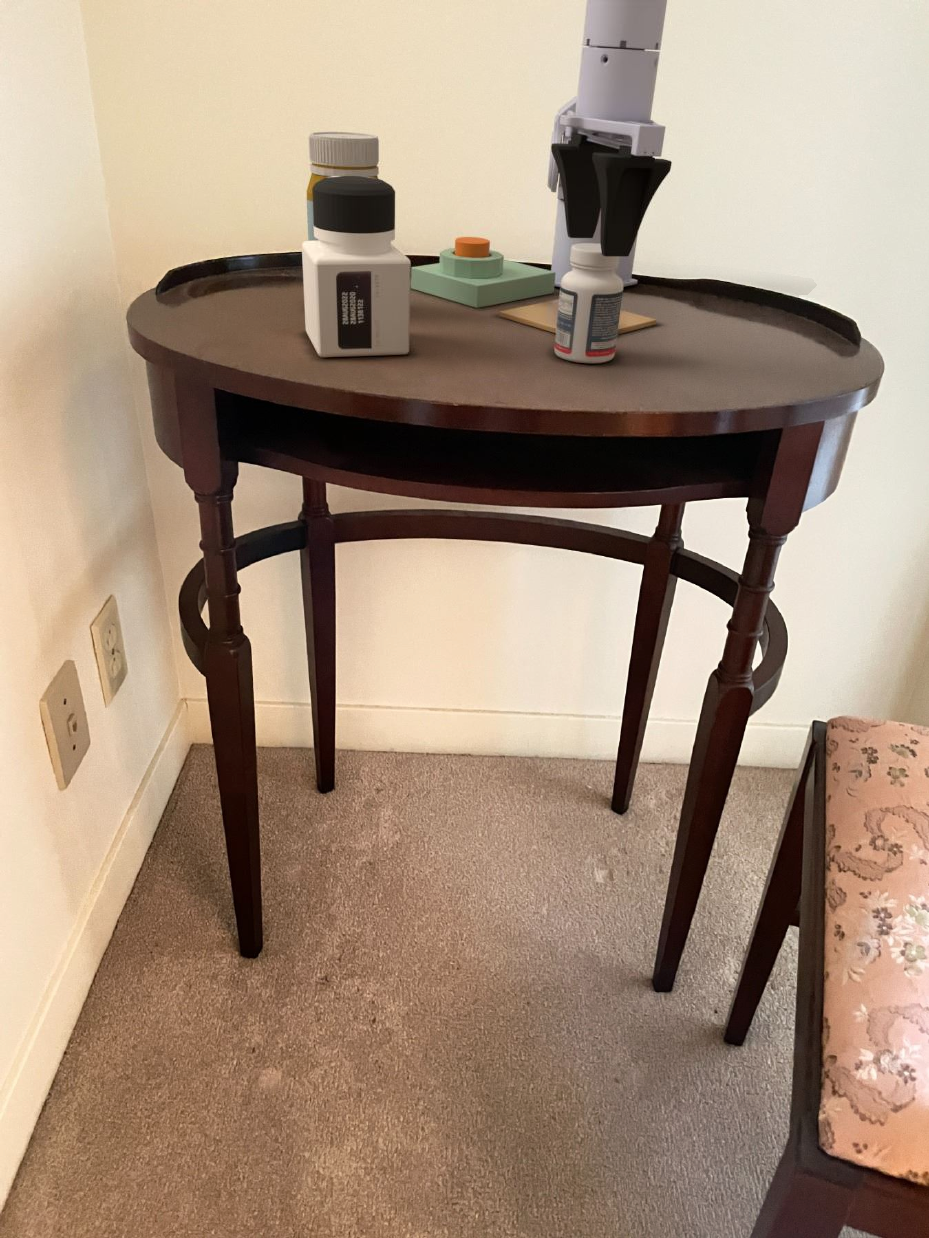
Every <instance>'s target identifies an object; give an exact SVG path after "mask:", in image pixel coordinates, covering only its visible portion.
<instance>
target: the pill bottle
mask: <svg viewBox="0 0 929 1238" xmlns="http://www.w3.org/2000/svg"><path fill="white" fill-rule="evenodd" d="M570 261H571V262H570V264H571V265H572V266H573V269H572V271H570V272H568V273H566V274H565V275H564V276H563V278H562V280H561V285H560V287H559V294H558V295H559V297H558V299H559V305H558V315H557V326H556V333H555V335H554V336H555V338H554V349H553V351H554V354H555V355H556V356H557V357H558V358H560V359H562V360H564V361H569V362H572V363H579V364H580V363H581V364H602V363H606V362H609V361H611V360H613V359H614V357H615V354H616V350H617V349H616V348H617V339H618V334H617V333H618V325H619V318H620V310H622V301H623V294H624V287H623V281H622V279H621V278H620V277H619V276H617V275H616V274H615V269H616V268H618V264H619V257H607V256H603V255H602V252H601V244H596V243H580V244H575V245H572V248H571V256H570Z"/></svg>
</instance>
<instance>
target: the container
mask: <svg viewBox="0 0 929 1238" xmlns="http://www.w3.org/2000/svg"><path fill="white" fill-rule="evenodd" d="M312 195H313V221H314V237H315V238H317V239H318V240H319V241H308V240H305V241H303V242H302V243H301V257H302V261H301V262H302V280H303V281H302V282H303V301H304V322H305V324H304V325H305V326H304V327H305V332H306V334H307V336H308V338H309V340H310V341H311V344H312V346H313V347H314V349H315V351H316V353H317V355H318V356H319V357H320V358H340V357H341V358H342V357H345V358H346V357H369V356H370V357H373V356H400V355H401V356H403V355H407V354H408V353H409V351H410V333H411V331H410V328H411V327H410V326H411V321H410V320H411V268H412V267H411V265H412V264H411V260H410V259H409V257H408V256H406V255H405V253H403V252H402V251H401V250H400V249H398V248H397V247H396V246H395V245H394V244H392V242H394V240H395V239H396V190H395V189H394V187H393V185H391V184H389V183H387V182H386V181H385V180H383V179H381V178H378V179H376V178H370V177H361V176H333V177H326V178H324V179H322V180H320V181H318V182H316V183H315V185H314V186H313V188H312Z"/></svg>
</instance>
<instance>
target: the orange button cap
mask: <svg viewBox="0 0 929 1238" xmlns="http://www.w3.org/2000/svg"><path fill="white" fill-rule="evenodd" d="M490 246H491V241H490V240H489V239H487V238H483V237H477V236H460V237H457V238H455V240H454V248H455V255H456V256H460V257H469V258H485V257H489V250H491V249H490V248H491V247H490Z"/></svg>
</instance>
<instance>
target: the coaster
mask: <svg viewBox="0 0 929 1238" xmlns="http://www.w3.org/2000/svg"><path fill="white" fill-rule="evenodd" d="M558 305H559V298H558V299H554V300H549V301H544V302H539V303H534V304H530V305H525V306H520V307H515V308H509V309H505V310H500V311H499V312H498V313H499V314H498V317H500V318H503V319H506V320H509V321H513V322H516V323H520V324H522V325H525V326H529V327H534V328H537V329H539V330H543V331H546V332H550V333H554V334H556V326H557V315H558ZM656 325H657V319H656V318H651V317H648V316H644V315H640V314H637V313H633V312H629V311H626V310H622V309H621V310H620V318H619V325H618V333H617V335H621V334H624V333H628V332H631V331H636V330H640V329H644V328H647V327H651V326H656Z"/></svg>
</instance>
